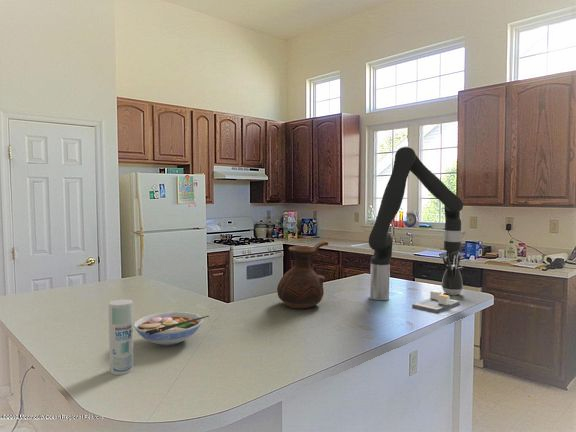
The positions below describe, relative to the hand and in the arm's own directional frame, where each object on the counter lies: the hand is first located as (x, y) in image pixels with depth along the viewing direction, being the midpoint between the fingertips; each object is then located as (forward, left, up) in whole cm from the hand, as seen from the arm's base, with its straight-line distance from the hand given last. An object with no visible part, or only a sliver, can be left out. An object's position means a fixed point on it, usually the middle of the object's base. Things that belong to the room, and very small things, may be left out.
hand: (451, 276), depth 197 cm
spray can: (-113, -91, -13) cm, 146 cm away
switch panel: (-7, -3, -13) cm, 15 cm away
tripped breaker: (-4, -5, -11) cm, 13 cm away
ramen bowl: (-109, -67, -13) cm, 129 cm away
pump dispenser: (+6, +22, -13) cm, 26 cm away
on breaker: (-6, +4, -11) cm, 13 cm away
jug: (-69, -12, -13) cm, 71 cm away
